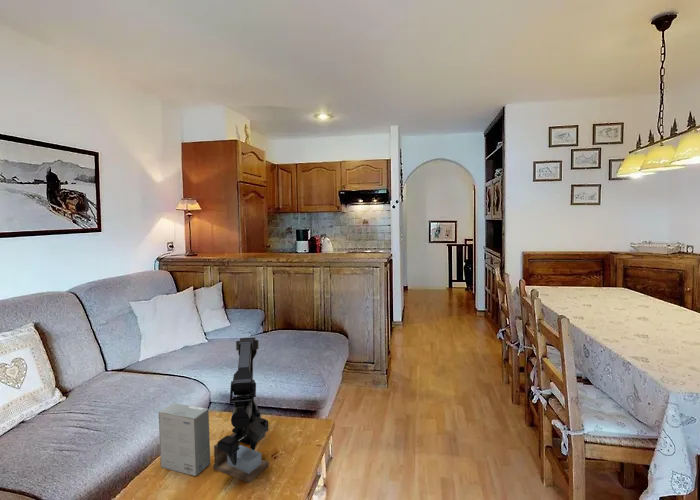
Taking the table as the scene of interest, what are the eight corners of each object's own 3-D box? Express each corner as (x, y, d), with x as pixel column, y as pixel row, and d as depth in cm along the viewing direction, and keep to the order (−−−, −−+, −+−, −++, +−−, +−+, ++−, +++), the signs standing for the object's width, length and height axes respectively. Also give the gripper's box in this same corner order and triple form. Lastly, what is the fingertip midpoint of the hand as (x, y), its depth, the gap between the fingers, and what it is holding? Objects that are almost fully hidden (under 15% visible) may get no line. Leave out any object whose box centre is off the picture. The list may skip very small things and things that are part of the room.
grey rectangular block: (227, 464, 133) (227, 453, 133) (240, 455, 139) (240, 444, 138) (248, 473, 128) (248, 462, 128) (261, 464, 134) (261, 453, 133)
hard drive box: (211, 463, 136) (209, 408, 135) (196, 477, 129) (194, 419, 128) (176, 455, 141) (174, 402, 140) (159, 467, 134) (157, 411, 133)
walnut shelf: (213, 468, 133) (212, 445, 133) (234, 453, 142) (233, 431, 142) (249, 482, 126) (248, 457, 126) (268, 465, 135) (268, 442, 135)
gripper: (242, 432, 120) (243, 480, 121) (279, 407, 137) (279, 449, 138) (215, 423, 125) (217, 470, 126) (254, 400, 142) (255, 441, 143)
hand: (244, 457), depth 133 cm, fingers open, 9 cm apart
